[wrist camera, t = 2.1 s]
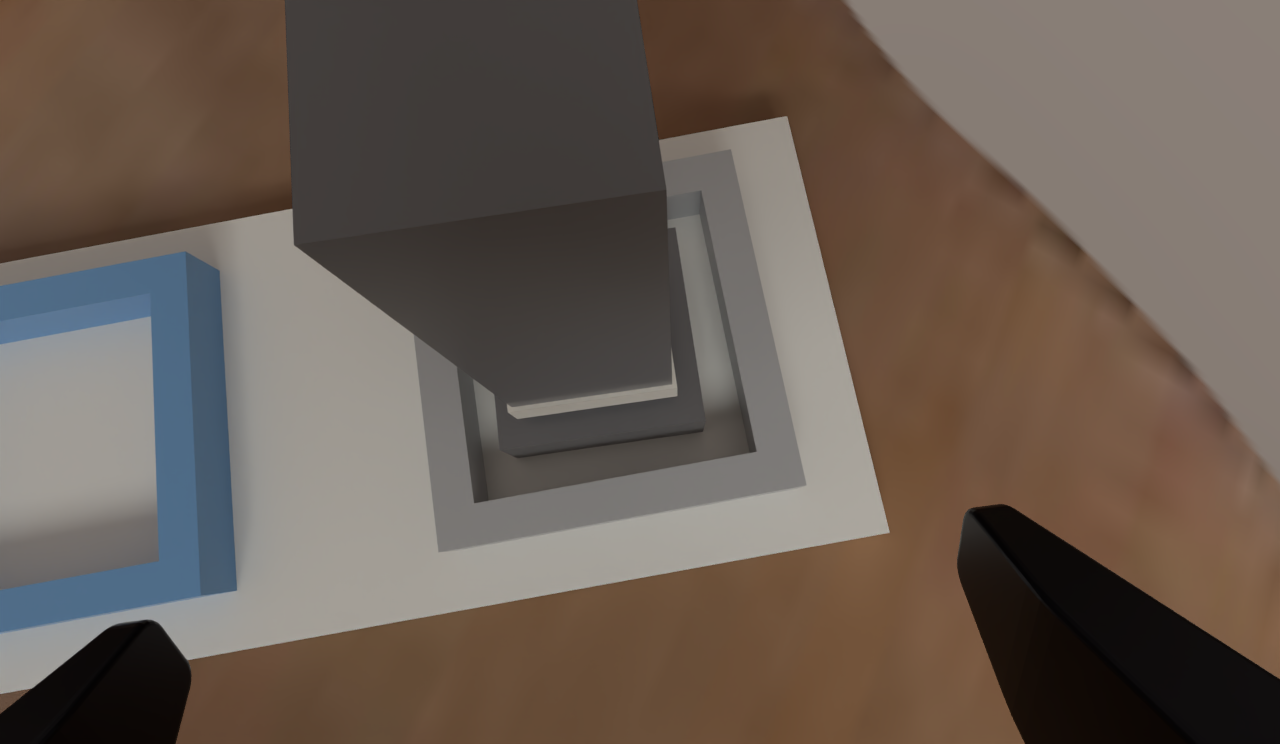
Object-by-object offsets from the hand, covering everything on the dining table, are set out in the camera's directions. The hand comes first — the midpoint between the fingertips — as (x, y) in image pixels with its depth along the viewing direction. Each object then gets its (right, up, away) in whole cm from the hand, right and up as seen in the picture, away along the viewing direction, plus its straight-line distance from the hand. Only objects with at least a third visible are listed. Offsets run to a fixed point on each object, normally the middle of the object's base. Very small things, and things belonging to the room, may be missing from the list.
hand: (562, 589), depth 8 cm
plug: (0, +3, +12) cm, 12 cm away
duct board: (-8, +1, +13) cm, 15 cm away
